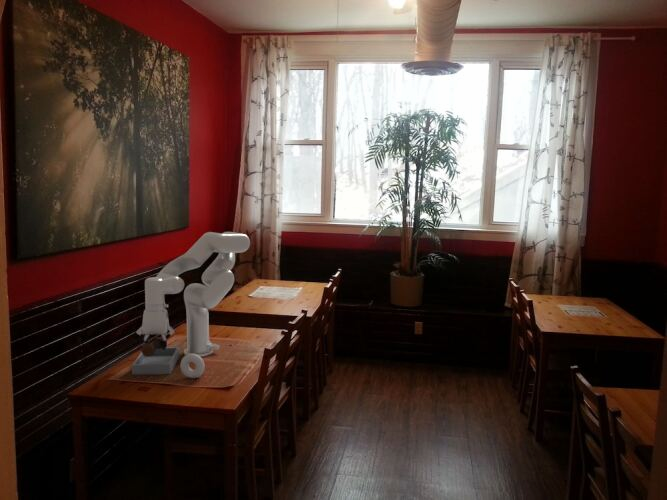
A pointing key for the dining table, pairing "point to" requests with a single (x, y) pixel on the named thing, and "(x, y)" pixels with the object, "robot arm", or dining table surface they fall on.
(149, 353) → the bolt
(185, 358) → the donut
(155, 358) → the bin
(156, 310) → the robot arm
